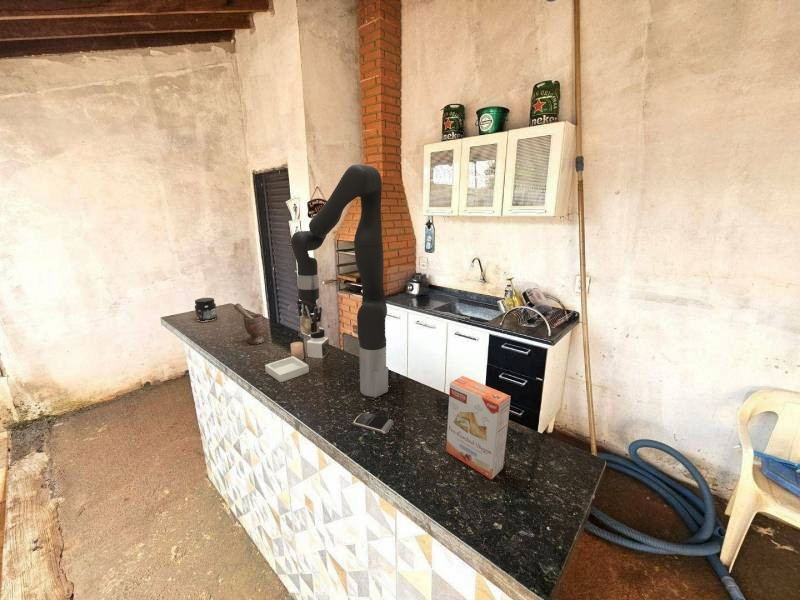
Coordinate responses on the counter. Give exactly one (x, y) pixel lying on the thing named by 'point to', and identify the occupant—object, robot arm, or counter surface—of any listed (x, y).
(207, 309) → the supplement container
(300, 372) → the white tray
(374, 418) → the cell phone
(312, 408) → the counter surface
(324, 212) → the robot arm
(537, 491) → the counter surface
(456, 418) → the cracker box
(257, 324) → the mortar and pestle
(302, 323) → the maple block
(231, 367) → the counter surface
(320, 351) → the medicine bottle
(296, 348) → the peach rounded capsule
